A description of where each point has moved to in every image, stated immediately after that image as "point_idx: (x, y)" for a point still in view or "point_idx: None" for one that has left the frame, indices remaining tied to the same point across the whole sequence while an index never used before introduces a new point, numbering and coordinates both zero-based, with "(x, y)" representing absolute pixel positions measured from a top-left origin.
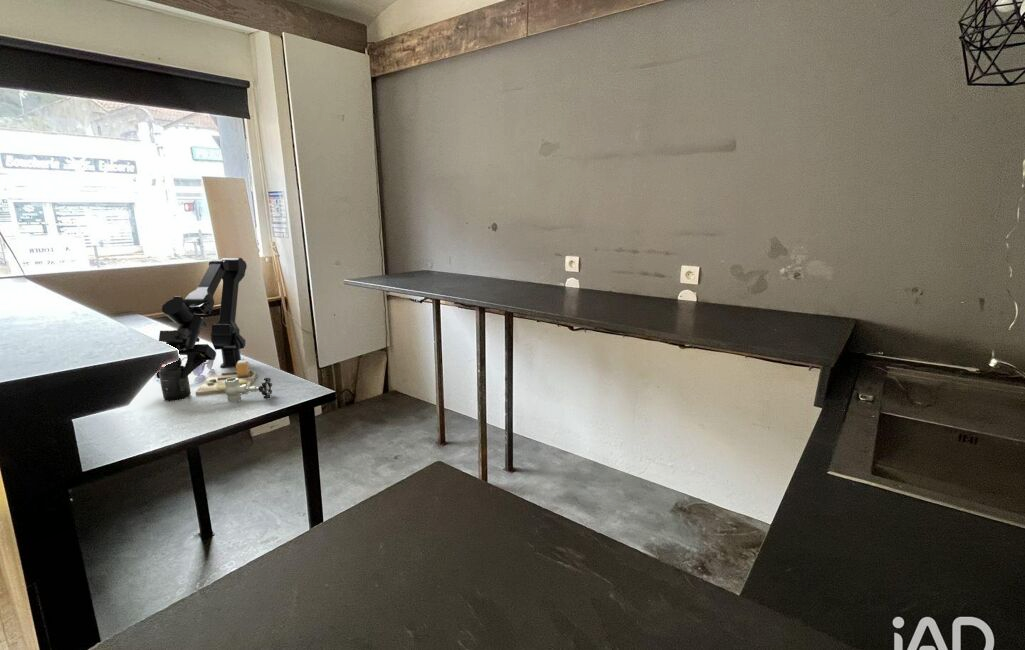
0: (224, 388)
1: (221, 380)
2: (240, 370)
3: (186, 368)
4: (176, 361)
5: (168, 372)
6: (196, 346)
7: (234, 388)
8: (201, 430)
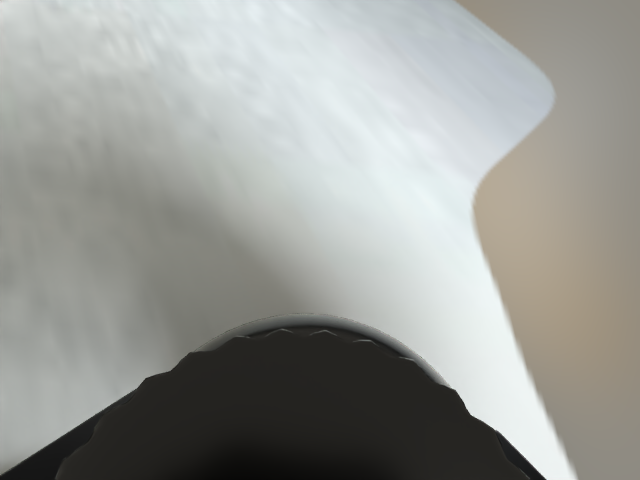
0: None
1: None
2: None
3: (19, 474)
4: (78, 458)
5: (277, 321)
6: None
7: None
8: (28, 11)
